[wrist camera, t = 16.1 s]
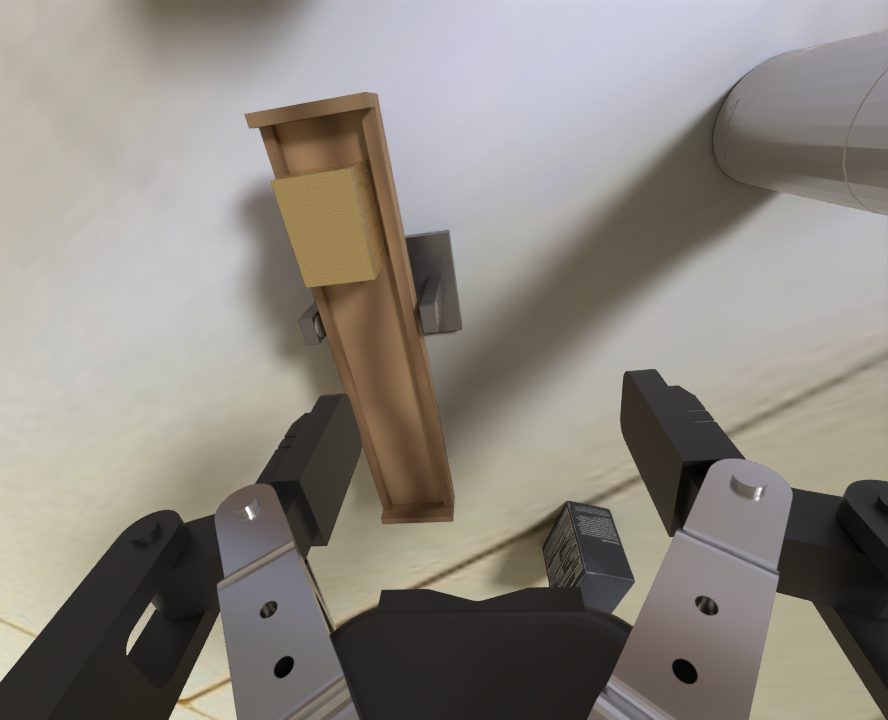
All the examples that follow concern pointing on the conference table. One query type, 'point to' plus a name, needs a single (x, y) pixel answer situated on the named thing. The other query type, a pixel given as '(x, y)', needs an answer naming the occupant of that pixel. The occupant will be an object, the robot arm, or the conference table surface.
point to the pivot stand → (416, 287)
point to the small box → (588, 556)
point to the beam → (373, 313)
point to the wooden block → (333, 223)
